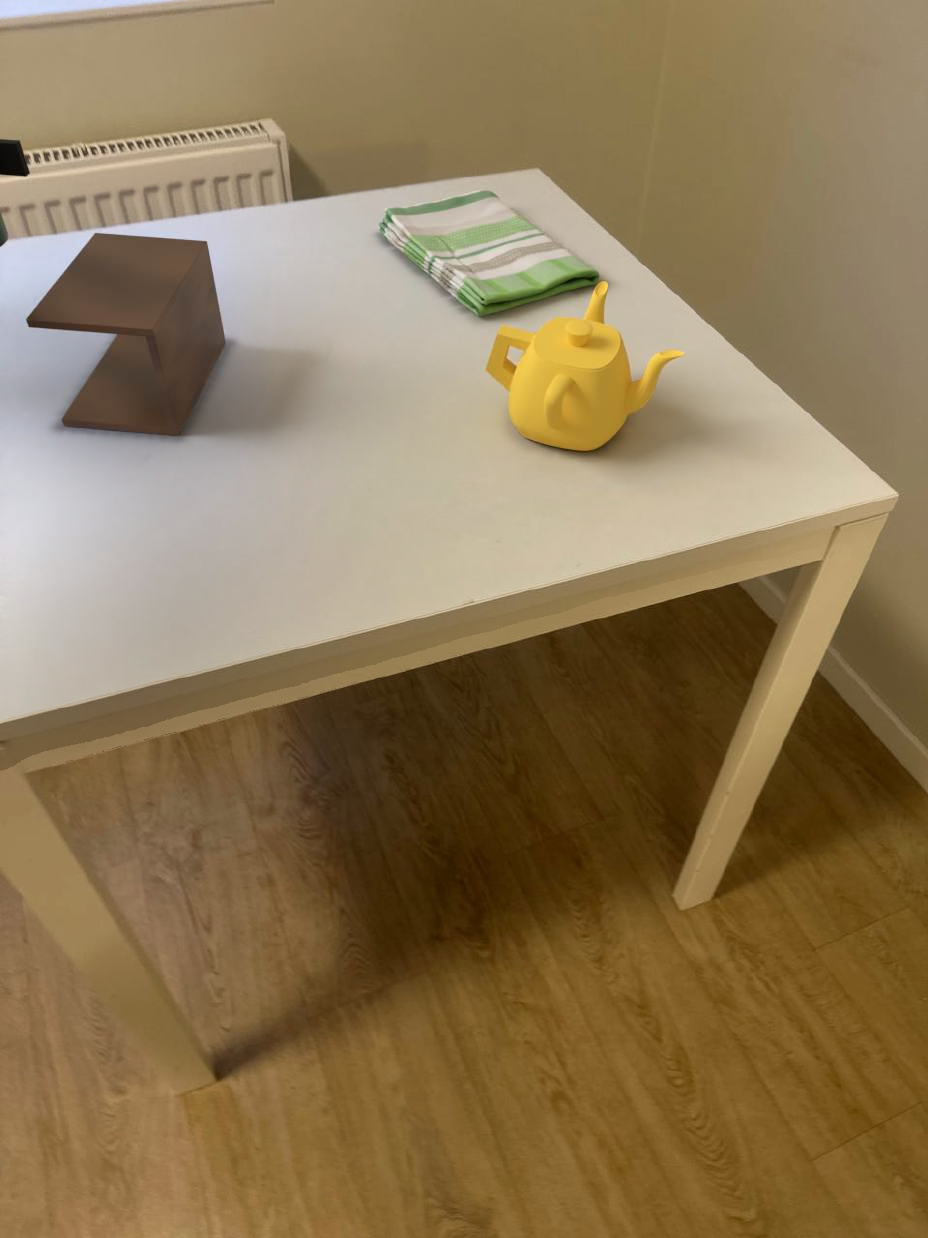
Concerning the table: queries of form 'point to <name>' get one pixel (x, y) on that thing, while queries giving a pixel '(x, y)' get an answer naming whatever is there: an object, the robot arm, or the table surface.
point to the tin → (3, 232)
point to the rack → (139, 329)
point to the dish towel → (484, 251)
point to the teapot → (572, 378)
